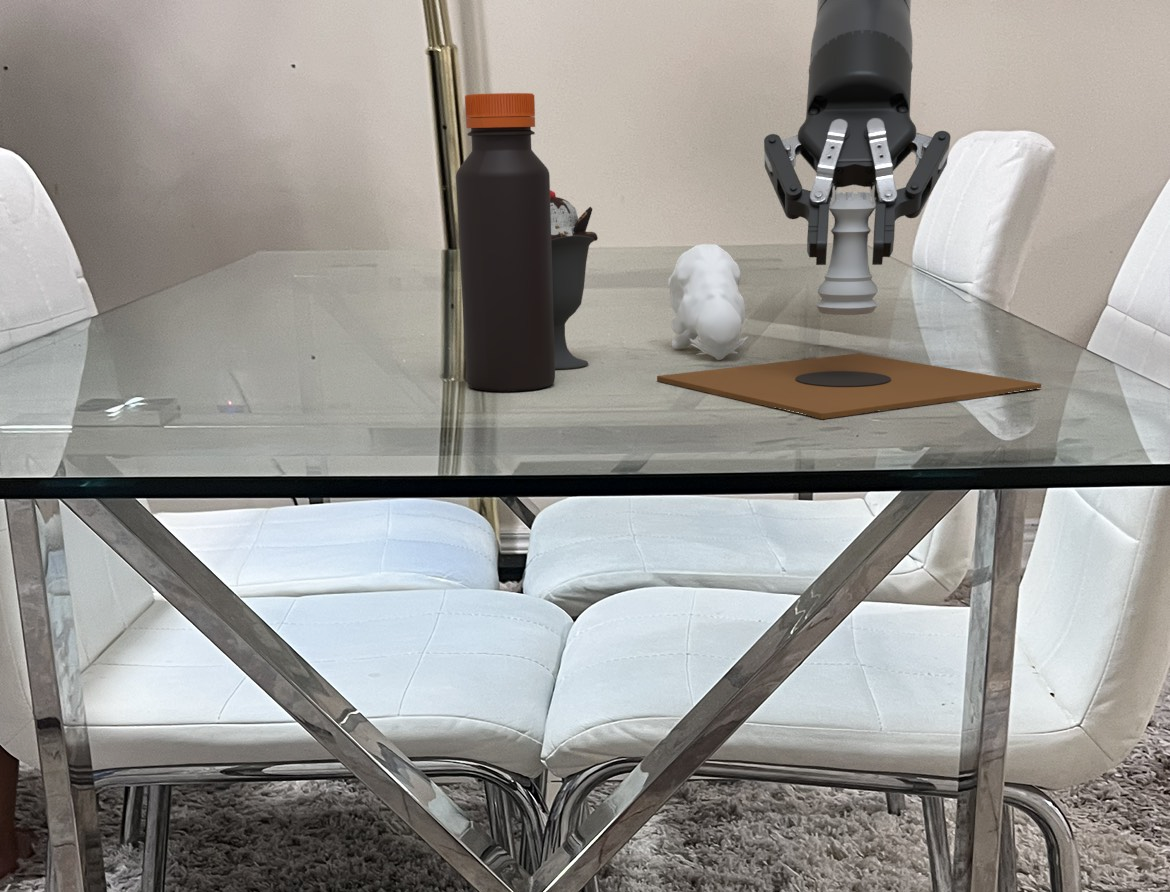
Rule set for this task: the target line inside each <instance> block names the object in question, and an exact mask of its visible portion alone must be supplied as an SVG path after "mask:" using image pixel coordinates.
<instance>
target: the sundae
mask: <svg viewBox="0 0 1170 892" xmlns="http://www.w3.org/2000/svg"><path fill="white" fill-rule="evenodd" d="M550 211H551V247H552V284H553V321H554V358H555V371H556V370H573V369H579V368H585V367H587V366H588V365H589V362H588V361H587V360H586V359H585V360H584V359H582V358H579V357H576V356H574V355H573V353H571V351H570V350H569V348H568V345H567V340H566V339H567V338H566V323H567V321H569V319H570V318H571V317H572V316H573V315H575V313H576V312H577V311H578V309H579V308H580V306H581V305H582V301H583V295H584V290H585V281H586V270H587V260H588V256H589V255H588V254H589V248H590V245H591V244H592V243H593V242H597V241H598V237H599V236H598V235H597V233H596V232H595V231H586V230H587V229H588V225H589V222H590V219H591V216H592V213H593V208H592V206H589V207H588V208H587V209H586V210H585V211H584V212H583V213H582V214H581V215H580V216H579V217H578V213H577V208H576V207H575V206H574V205H573V204H571V202H570V201H568V200H567V199H564V198H562V197H557V196H556V192H555V191H553V190H551V189H550Z"/></svg>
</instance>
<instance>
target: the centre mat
mask: <svg viewBox="0 0 1170 892" xmlns="http://www.w3.org/2000/svg"><path fill="white" fill-rule="evenodd" d="M656 382H659V383H664V384H669V385H672V386H676V387H681V388H684V389H689V390H693V391H697V392H703V393H707V394H711V395H715V396H720V397H725V398H728V399H733V400H737V401H741V402H745V403H750V404H754V405H758V406H762V405H764V406H763V407H767V406H769V407H768V408H771V407H776V408H781V409H786V410H790V411H794V412H799V413H803V414H806V415H809V416H808V417H810V416H812V417H811V418H814V417H815V419H819V420H826V419H834V418H835V419H836V418H841V417H842V418H843V417H849V416H856V415H863V414H862V413H865V414H869V413H868V412H872V413H874V412H873V411H878V410H886V411H888V410H887V409H894V410H898V409H897V408H901V409H908V408H914V407H916V408H917V407H923V406H930V405H938V404H943V403H953V402H957V401H966V400H973V399H981V398H987V397H986V396H989V397H994V396H993V395H996V396H1000V395H999V394H1003V395H1006V394H1005V393H1008V392H1014V391H1020V390H1028V389H1029V390H1030V389H1037V388H1041V389H1042V383H1038V382H1034V381H1033V382H1032V381H1027V380H1020V379H1016V378H1009V377H1004V376H998V375H997V376H996V375H991V374H985V373H979V372H973V371H969V370H962V369H956V368H950V367H943V366H938V365H931V364H925V363H921V362H914V361H908V360H902V359H895V358H891V357H884V356H878V355H871V354H867V353H861V352H859V353H849V354H848V353H847V354H840V355H831V356H822V357H814V358H803V359H796V360H795V359H794V360H787V361H779V362H778V361H777V362H768V363H760V364H759V363H758V364H752V365H751V364H750V365H742V366H733V367H724V368H714V369H706V370H697V371H689V372H688V371H687V372H681V373H670V374H662V375H661V374H660V375H657V376H656ZM980 397H981V398H980ZM937 403H938V404H937ZM806 415H805V416H806Z"/></svg>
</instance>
